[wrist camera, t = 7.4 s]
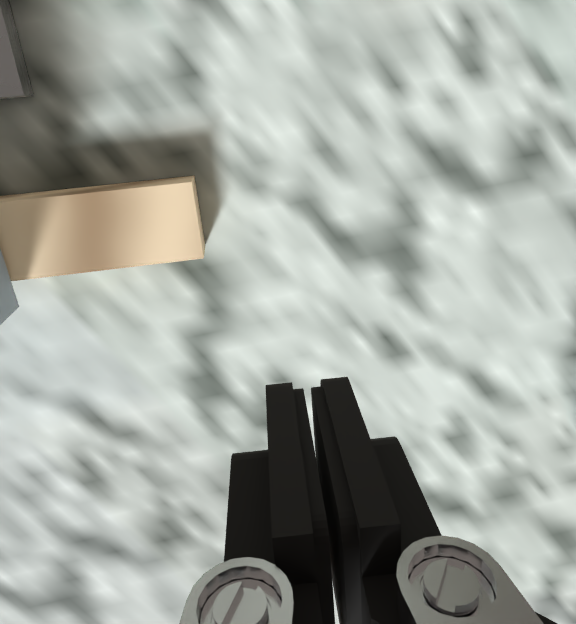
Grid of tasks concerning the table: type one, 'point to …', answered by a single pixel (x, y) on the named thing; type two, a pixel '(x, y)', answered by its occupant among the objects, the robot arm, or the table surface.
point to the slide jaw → (6, 293)
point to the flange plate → (11, 58)
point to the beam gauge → (100, 227)
